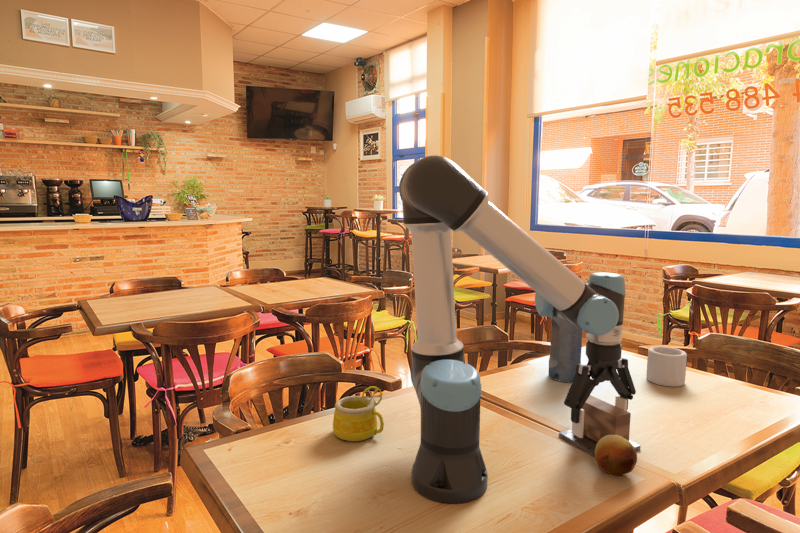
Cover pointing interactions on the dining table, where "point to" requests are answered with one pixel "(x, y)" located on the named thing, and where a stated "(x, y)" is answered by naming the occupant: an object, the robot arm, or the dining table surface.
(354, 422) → the mug
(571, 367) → the bottle
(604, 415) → the door
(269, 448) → the dining table surface
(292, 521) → the dining table surface
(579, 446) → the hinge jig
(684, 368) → the mug
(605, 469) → the fruit
